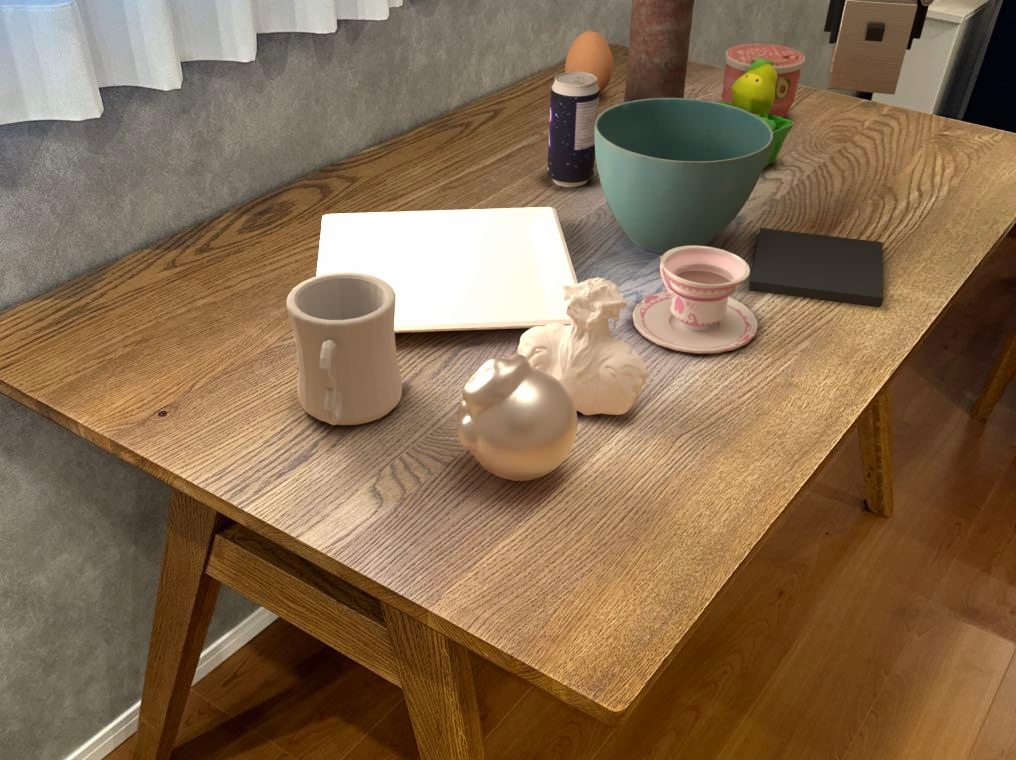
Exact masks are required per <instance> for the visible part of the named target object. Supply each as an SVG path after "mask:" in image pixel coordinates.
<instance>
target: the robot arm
mask: <svg viewBox="0 0 1016 760" xmlns="http://www.w3.org/2000/svg"><path fill="white" fill-rule="evenodd" d="M934 2H935V0H917V10H916V13H915V17H914V21H913V25H912V29H911V33H910V37H909V41H908V45H907V48H906V51H910V50H911V49H912V45H913V41H914V39H915V40H920V39H921V37H922V33H923V30H924V26H925V22H926V18H927V14H928V10H929V6H932V4H933V3H934ZM844 3H845V0H829V4H828V7H827V14H826V18H825V23H824V28H823V32H824V33H830V34H829V39H828V44H829V45H830V44H831V45H834V44H835V43H836V41H837V36H838V31H839V27H840V22H841V17H842V12H843V8H844Z"/></svg>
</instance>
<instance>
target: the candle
mask: <svg viewBox="0 0 1016 760" xmlns="http://www.w3.org/2000/svg"><path fill="white" fill-rule="evenodd" d="M694 5H695V0H632V1H631V13H630V26H629V36H628V38H629V39H628V42H629V43H628V53H627V61H626V62H627V63H626V73H625V74H626V75H625V77H626V78H625V84H624V85H625V86H624V97H623V98H624V99H623V103H625V102H630V101H635V100H641V99H652V98H685V88H686V77H687V71H688V70H687V69H688V61H689V53H690V41H691V39H690V38H691V32H692V26H693V15H694Z"/></svg>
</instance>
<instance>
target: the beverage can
mask: <svg viewBox="0 0 1016 760" xmlns="http://www.w3.org/2000/svg"><path fill="white" fill-rule="evenodd" d="M600 95H601V94H600V89H599V87H598V84H597V77H596V76H595V75H593V74H590V73H586V72H565V71H564V72H560V73H558V74H556V75H555V76H554V82H553V84H552V85H551V87H550V96H549V97H550V99H549V121H548V122H549V125H548V145H547V147H548V149H547V170H546V173H547V176H548V177H549V178H551V180H552V181H553V183H554V184H556V185H558V186H559V187H560V186H561V187H565V188H578V187H582V186H584V185H586V184H587V183H588V181H589V180H590V179H592V178H593V177H594V174H595V164H596V163H595V161H596V154H595V140H594V131H595V121H596V119H597V117H598V116H599V108H600Z"/></svg>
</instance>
